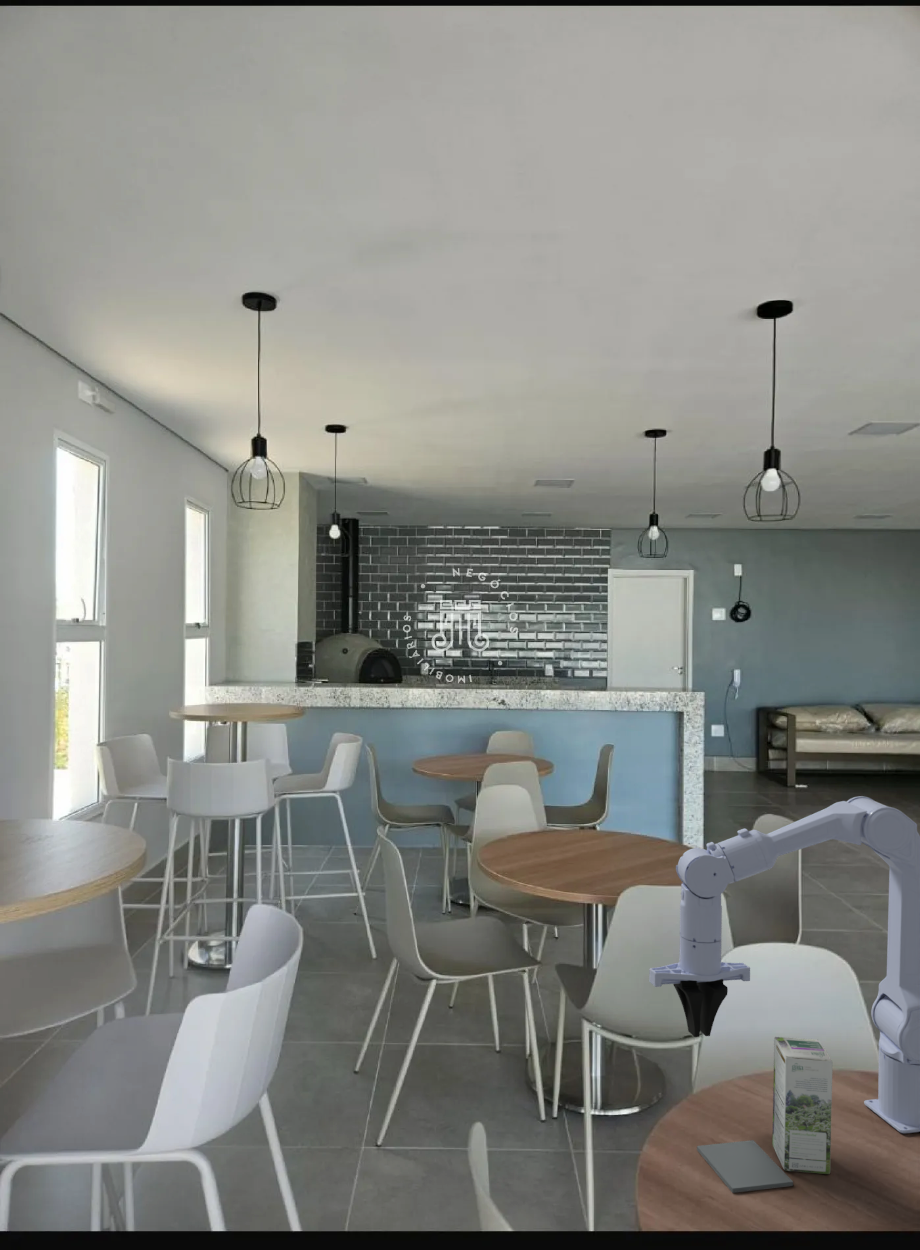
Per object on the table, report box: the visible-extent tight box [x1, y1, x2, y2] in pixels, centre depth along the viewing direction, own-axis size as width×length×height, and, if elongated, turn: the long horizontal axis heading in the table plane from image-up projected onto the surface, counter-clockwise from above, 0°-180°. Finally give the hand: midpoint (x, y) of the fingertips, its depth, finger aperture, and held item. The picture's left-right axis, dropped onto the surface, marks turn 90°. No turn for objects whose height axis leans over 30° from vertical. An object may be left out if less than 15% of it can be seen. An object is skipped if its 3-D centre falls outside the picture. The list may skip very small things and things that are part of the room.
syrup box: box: [771, 1036, 833, 1175], centre depth 111 cm, size 6×6×14 cm
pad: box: [696, 1139, 794, 1194], centre depth 109 cm, size 8×9×1 cm
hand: (699, 1033), depth 123 cm, fingers closed
